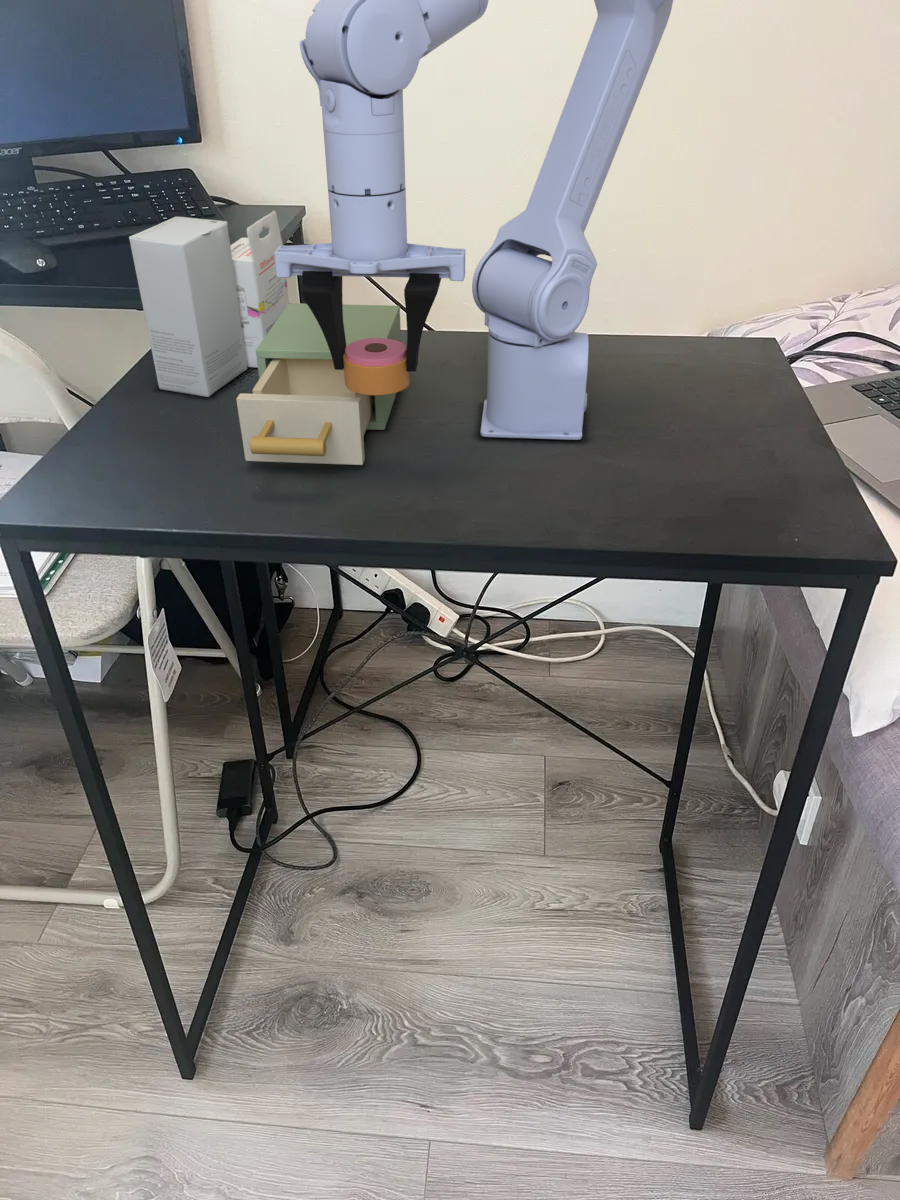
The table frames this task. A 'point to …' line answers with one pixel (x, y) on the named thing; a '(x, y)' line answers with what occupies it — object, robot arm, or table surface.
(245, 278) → the ink cartridge box
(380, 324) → the cabinet
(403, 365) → the donut
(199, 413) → the table surface
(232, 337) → the cosmetic box
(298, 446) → the drawer
